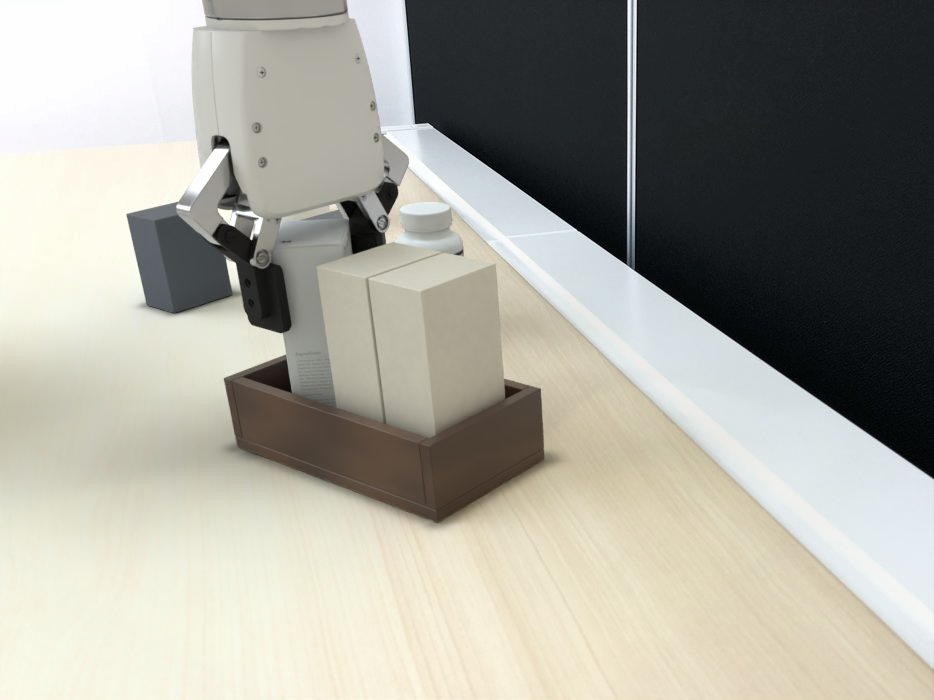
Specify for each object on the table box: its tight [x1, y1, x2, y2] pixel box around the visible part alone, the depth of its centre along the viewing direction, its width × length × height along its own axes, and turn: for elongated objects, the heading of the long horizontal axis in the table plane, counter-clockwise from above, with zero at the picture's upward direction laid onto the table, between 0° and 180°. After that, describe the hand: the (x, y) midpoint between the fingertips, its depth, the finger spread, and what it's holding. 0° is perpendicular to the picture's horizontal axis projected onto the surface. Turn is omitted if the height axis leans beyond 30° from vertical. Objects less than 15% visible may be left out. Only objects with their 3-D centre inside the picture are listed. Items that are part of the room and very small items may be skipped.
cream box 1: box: [316, 241, 441, 424], centre depth 66 cm, size 4×6×12 cm, turn 146°
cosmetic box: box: [271, 219, 353, 408], centre depth 68 cm, size 6×4×12 cm
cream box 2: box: [368, 253, 505, 438], centre depth 64 cm, size 4×6×12 cm, turn 146°
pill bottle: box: [394, 201, 465, 257], centre depth 88 cm, size 5×5×10 cm
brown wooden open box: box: [223, 354, 546, 523], centre depth 68 cm, size 18×10×5 cm, turn 56°
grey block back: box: [125, 201, 233, 314], centre depth 95 cm, size 4×6×8 cm, turn 146°
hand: (321, 307), depth 68 cm, fingers closed on cosmetic box, 7 cm apart
